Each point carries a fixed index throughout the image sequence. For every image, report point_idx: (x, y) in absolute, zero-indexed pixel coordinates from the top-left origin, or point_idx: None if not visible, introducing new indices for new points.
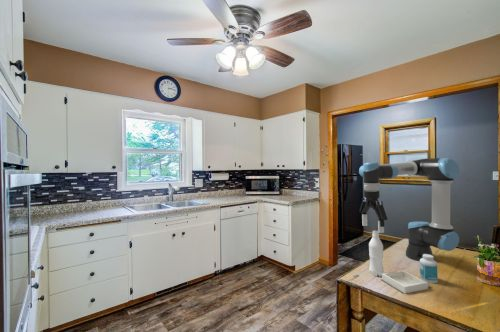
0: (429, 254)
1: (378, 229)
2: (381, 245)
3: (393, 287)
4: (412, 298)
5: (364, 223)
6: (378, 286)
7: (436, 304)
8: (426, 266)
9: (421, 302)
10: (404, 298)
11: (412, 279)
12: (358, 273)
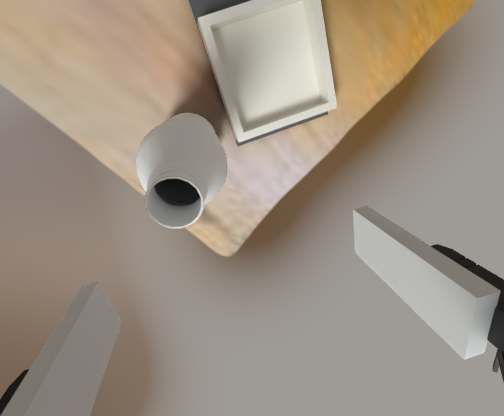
0: None
1: (377, 269)
2: (218, 146)
3: (290, 125)
4: (342, 92)
5: (104, 332)
6: (271, 166)
7: (379, 32)
8: None
9: (363, 77)
10: (339, 118)
11: (253, 15)
12: None
